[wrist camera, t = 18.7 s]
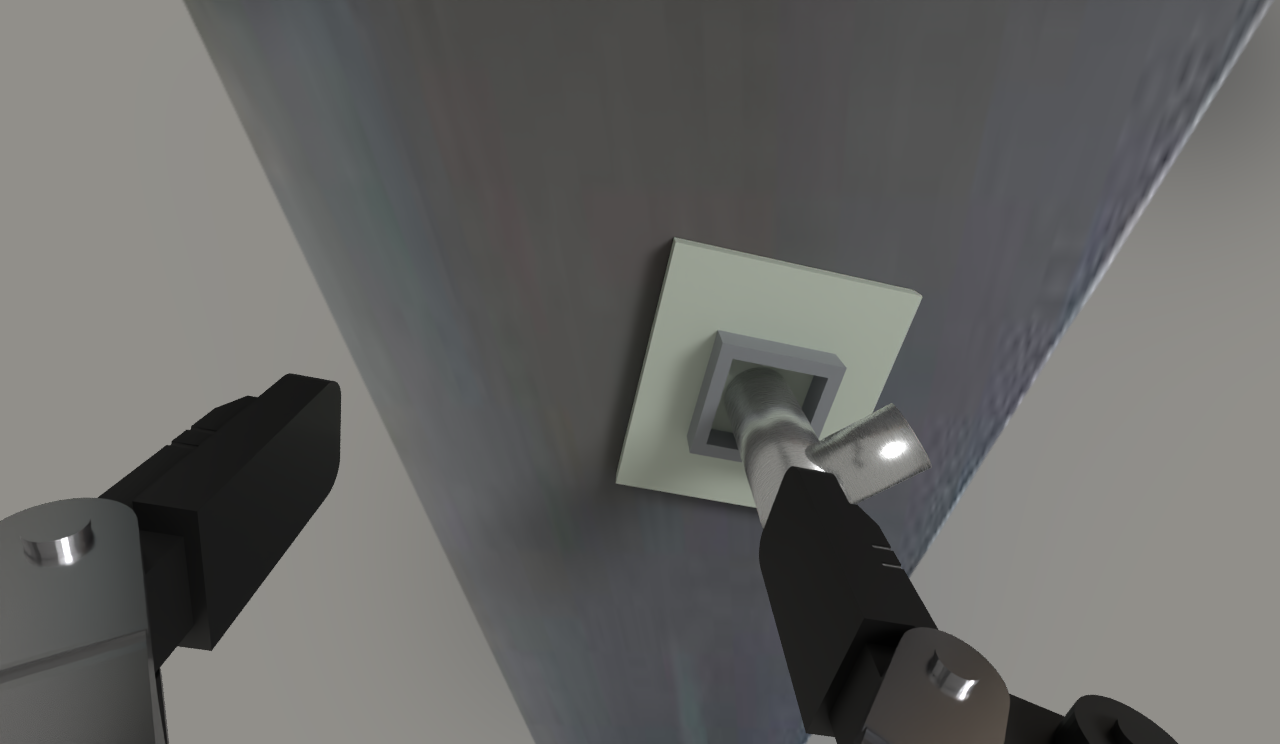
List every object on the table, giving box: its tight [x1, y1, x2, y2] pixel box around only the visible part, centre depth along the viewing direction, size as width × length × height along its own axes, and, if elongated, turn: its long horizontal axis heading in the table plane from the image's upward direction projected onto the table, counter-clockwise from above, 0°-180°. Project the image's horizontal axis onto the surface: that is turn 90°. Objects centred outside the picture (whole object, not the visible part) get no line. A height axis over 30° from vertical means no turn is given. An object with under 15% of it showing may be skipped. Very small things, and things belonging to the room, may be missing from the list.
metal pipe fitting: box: [724, 367, 932, 529], centre depth 39 cm, size 10×5×14 cm, turn 122°
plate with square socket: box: [616, 237, 923, 508], centre depth 46 cm, size 18×20×4 cm
